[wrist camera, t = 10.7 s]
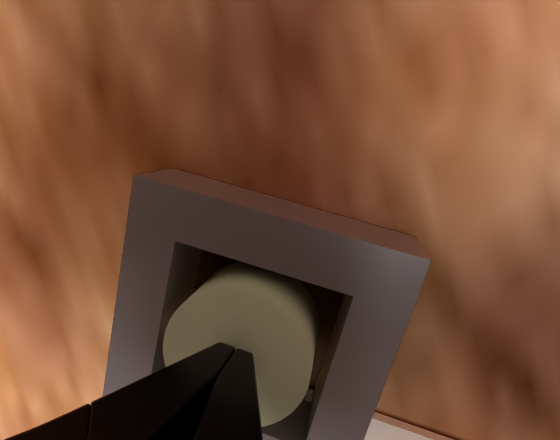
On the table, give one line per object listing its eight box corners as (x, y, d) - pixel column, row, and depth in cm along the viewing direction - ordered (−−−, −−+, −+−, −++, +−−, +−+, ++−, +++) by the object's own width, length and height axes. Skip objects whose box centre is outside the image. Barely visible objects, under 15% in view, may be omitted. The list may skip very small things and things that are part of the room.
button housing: (415, 236, 10) (431, 261, 8) (341, 443, 11) (338, 505, 9) (173, 168, 10) (133, 174, 9) (139, 369, 12) (100, 412, 10)
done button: (334, 283, 10) (329, 318, 8) (300, 392, 11) (288, 448, 9) (209, 244, 10) (176, 268, 8) (187, 353, 11) (152, 398, 9)
